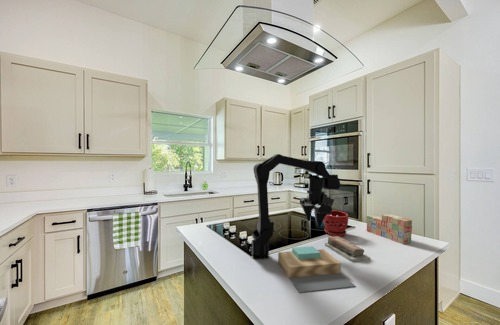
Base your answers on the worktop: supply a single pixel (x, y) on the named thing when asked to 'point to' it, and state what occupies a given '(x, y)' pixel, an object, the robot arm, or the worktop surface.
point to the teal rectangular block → (306, 252)
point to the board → (308, 264)
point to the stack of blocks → (391, 227)
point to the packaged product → (346, 249)
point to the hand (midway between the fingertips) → (313, 223)
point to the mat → (321, 282)
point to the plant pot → (336, 223)
